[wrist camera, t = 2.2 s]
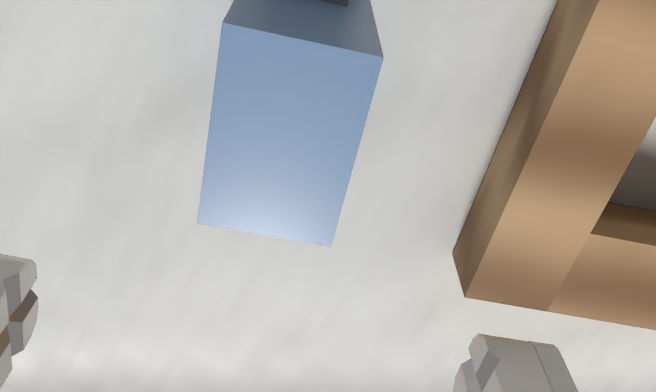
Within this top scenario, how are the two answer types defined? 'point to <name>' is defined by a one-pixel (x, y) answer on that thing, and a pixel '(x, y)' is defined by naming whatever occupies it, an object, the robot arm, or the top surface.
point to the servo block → (288, 115)
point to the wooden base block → (571, 175)
